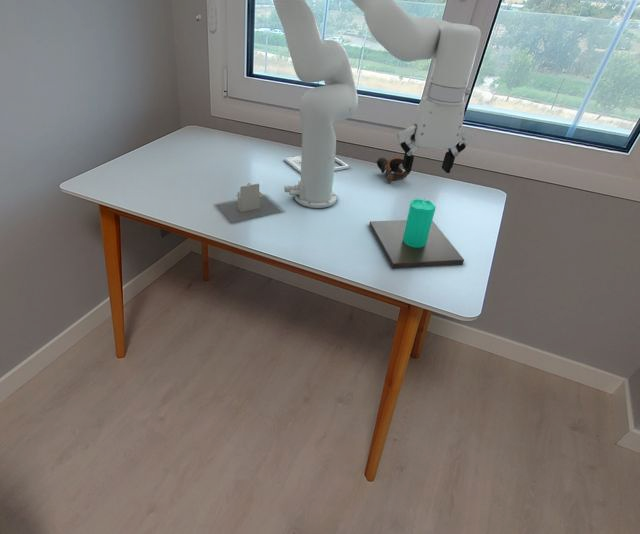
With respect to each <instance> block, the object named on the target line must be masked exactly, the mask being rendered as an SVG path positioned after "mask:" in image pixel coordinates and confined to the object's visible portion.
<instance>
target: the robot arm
mask: <svg viewBox="0 0 640 534" xmlns="http://www.w3.org/2000/svg"><path fill="white" fill-rule="evenodd" d="M350 1H351V2H352V3H353V4H354V5H355V6H356V7H357V8H358V9H359V10H360V11H361V12H362V14H363V17H364V21H365V23H366V26H367V28H368V31H369V32H370V34H371V35H372V37H373V38H374V39H375V40H376V42H378V43H379V44H380V45H381V46H382V47H383V48H384V49H385V50H386V51H387V52H388V53H389V54H390V56H392V57H394V58H396V59H397V60H399V61H401V62H405V63H408V62H416V61H425V60H434V62H433V67H432V69H431V70H432V71H431V73H430V79H429V83H428V88H427V92H426V96H422V97H421V100H419V101H420V102H419V104H418V106H417V109H416V112H415V114H414V117H413V121H412V124H411V126H410V127H407V128H406V129H403V130H401V131H399V132H397V134H396V137H397V141H398V144H399V146H400V148H401V149H402V151H403V152H404V154H403V158H402V159H403V164H401V165H402V168H403V170H404V171H406V172H407V173H409V174H410V173H411V172H412V168H413V163H414V159H415V156H414V153H416V152H417V151H418V149H439V150H440V149H441V150H442V149H443V150H445V149H447V150H448V151H446V152H445V153H444V157H443V161H442V164H441V169H442V170H443V171H444V172H445V173H446V174H450V173H451V170H452V169H453V167H454V163H455V159H456V158H457V157H458V156H459V154H460V153H461V152H462V151H464V150H465V149H466V146H468V144H469V143H470V142H471V141H472V138H473V137H472V136H471V135H470V134H469V133H467V132H466V131H465V130H463V124H464V118H465V108H466V107H465V106H466V102H465V101H464V100H465V98H466V96H470V95H471V93H472V88H468V84H469V81H470V78H471V74H472V71H473V67H474V63H475V59H476V56H477V52H478V49H479V45H480V41H481V37H482V31H481V29H480V28H479V27H478V26H475V25H471V24H467V23H457V22H455V23H452V22H450V21H448V20H447V21H446V20H443V19H441V18H438V17H427V16H425V17H413V16H412V15H410V14H409V13H408V12H407V11H406V10H405V9H404V8H403V7H402V6H400V5H399V4H398V3H397V2H396V0H350ZM272 2H273V5H274V8H275V11H276V14H277V16H278V19H279V21H280V23H281V26H282V29H283V33H284V36H285V41H286V44H287V48H288V52H289V55H290V58H291V63H292V65H293V69H294V72H295V75H296V77H297V79H298V80H299V81H301V82H303V83H306V84H307V83H308V84H312V83H319V82H323V83H324V85H320V86H315V87H313V88H310V89H309V90H307V91H305V92H304V93H303V95H302V96H301V98H300V101H299V116H300V122H301V123H300V124H301V156H302V157H301V173H300V180H298V182H297V184H294V185H284V188H283V189H284V193H288V194H289V196H294V201H296V203H298V205H299V204H300V205H301V206H304V207H306V208H311V209H325V208H329V207H332V206H334V205H335V204H336V203H337V197H338V196H337V195H336V193H335V192H334V191H333V185H334V173H335V171H334V167H335V162H336V161H335V157H336V152H337V137H336V133H335V130H334V127H333V125H334V123H335V124H336V123H337V122H341V121H344V120H347V119H350V118H351V117H353V116H354V115H355V113H356V112H357V109H358V105H359V97H358V90H357V87H356V82H355V77H354V73H353V69H352V65H351V61H350V57H349V55H348V53H347V50H346V49H345V47H344V46H343V45H342V44H341V42H339V41H337V40H334V39H323V38H322V36H321V33H320V29H319V25H318V21H317V18H316V16H315V14H314V12H313V10H312V9H311V7H310V6H309V4H308V3H307V2H306V0H272ZM460 137H461V140H460ZM407 138H409V140H410V141H409V142H408V143H407V142H406V139H407ZM459 140H460V141H459Z"/></svg>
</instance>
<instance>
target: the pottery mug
mask: <svg viewBox="0 0 640 534" xmlns="http://www.w3.org/2000/svg"><path fill="white" fill-rule="evenodd" d="M403 159H404V158H402V157H399V156H398V157H397V156H394V157H392V158H390V159H387V158H385V157H379V158H377V160H376V165H377V167H378V169H379V170H380V172H381V174H384V173H385V175H386V174H387V177H386V179H385V180H386V182H388V183H389V184H390V183H392V182H397V181H402V180H404V179H406V178H407V176H409V175H410V173H407V172H406V171H405V170H404V169H402V168H401V166H400V165H402V164H403Z"/></svg>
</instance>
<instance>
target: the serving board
mask: <svg viewBox="0 0 640 534" xmlns="http://www.w3.org/2000/svg"><path fill="white" fill-rule="evenodd" d="M406 222H407V219H402V220H401V219H400V220H399V219H398V220H373V221H372V220H371V221H369V224H368V227H369V229H370V231H371V232H372V234H373V236H374V237H375V239H376V241H377V243H378V245H379V246H380V249H381V250H382V252H383V254H384V256H385V258H386V259H387V261H388V263H389V265H390V267H391V269H394V270H395V269H409V268H426V267H427V268H429V267H444V266H445V267H446V266H448V267H449V266H462V265H464V262H465V259H464V258H463V256H462V255H461V254H460V253H459V251H458V250H457V248H455V247H454V245H453V244H452V243H451V241H450V240H449V238H447V237H446V236H445V234H444V232H442V230H441V229H440V228H439V226H438V225H437V224H436V223H435V222H434V221H433V220H432V224H431V227H430V231H429V235H428V239H427V243H426V245H425V246H423V247H421V248H419V247H411V246H408V245H407V244H405V243H404V241H403V236H404V231H405V226H406Z"/></svg>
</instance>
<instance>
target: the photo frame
mask: <svg viewBox="0 0 640 534" xmlns="http://www.w3.org/2000/svg"><path fill="white" fill-rule="evenodd" d="M301 157H302V155H297V156H296V155H295V156H291V157H285V158H284V161H285V163H287V164H288V165H290V166H291V167H292V169H293V168H294V169H295V170H296V171H297V172H298V173H299V174H301ZM335 162H336V163H338V164H339V165H341V166H334V172H336V171H341V170H342V171H343V170H347V169H350V165H349V164H347V163H346V162H344V161H343V160H341V159H339V158H337V157H336V156H335Z"/></svg>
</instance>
